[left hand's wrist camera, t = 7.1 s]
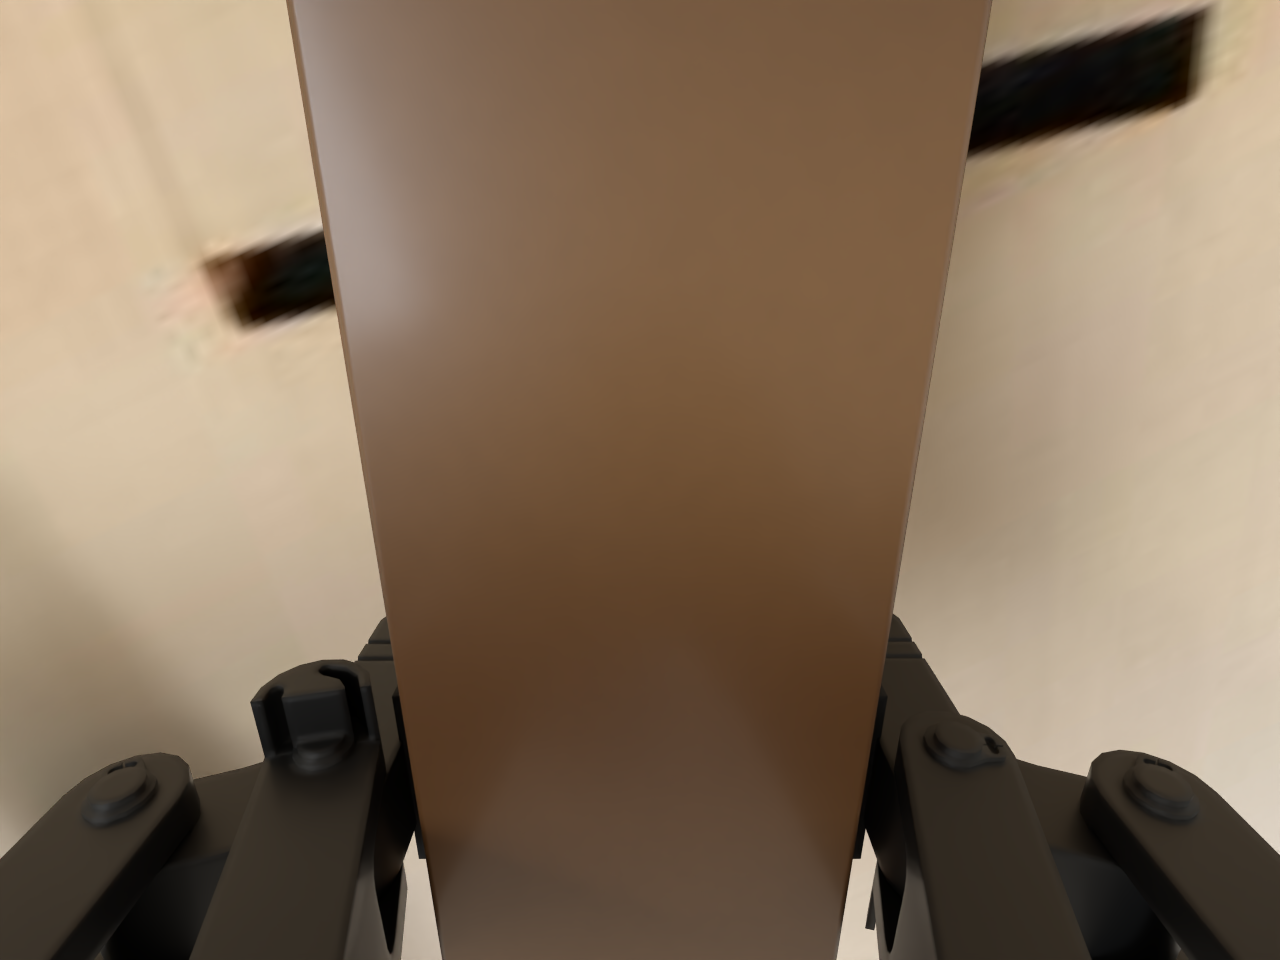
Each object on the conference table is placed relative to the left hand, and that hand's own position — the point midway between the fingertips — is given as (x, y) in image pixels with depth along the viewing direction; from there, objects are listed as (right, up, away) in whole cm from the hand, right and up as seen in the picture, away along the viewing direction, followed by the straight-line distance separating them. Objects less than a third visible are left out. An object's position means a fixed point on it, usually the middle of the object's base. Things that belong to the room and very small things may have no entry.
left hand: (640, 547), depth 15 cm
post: (0, +20, -7) cm, 21 cm away
